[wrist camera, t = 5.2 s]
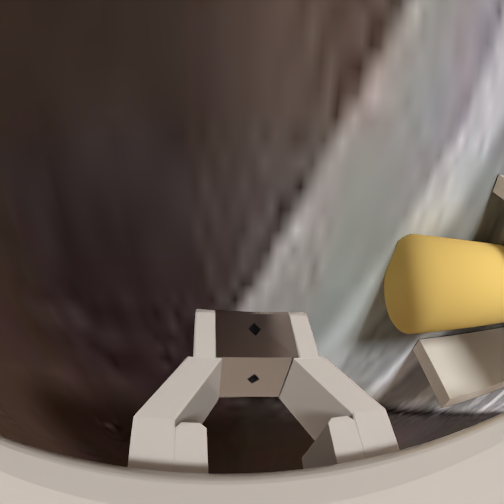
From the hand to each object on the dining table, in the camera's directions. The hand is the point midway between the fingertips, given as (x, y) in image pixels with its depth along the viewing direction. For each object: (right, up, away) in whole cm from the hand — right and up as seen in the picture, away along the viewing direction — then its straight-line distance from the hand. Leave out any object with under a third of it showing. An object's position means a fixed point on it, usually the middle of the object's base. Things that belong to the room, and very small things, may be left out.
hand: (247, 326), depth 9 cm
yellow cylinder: (+8, 0, +2) cm, 8 cm away
